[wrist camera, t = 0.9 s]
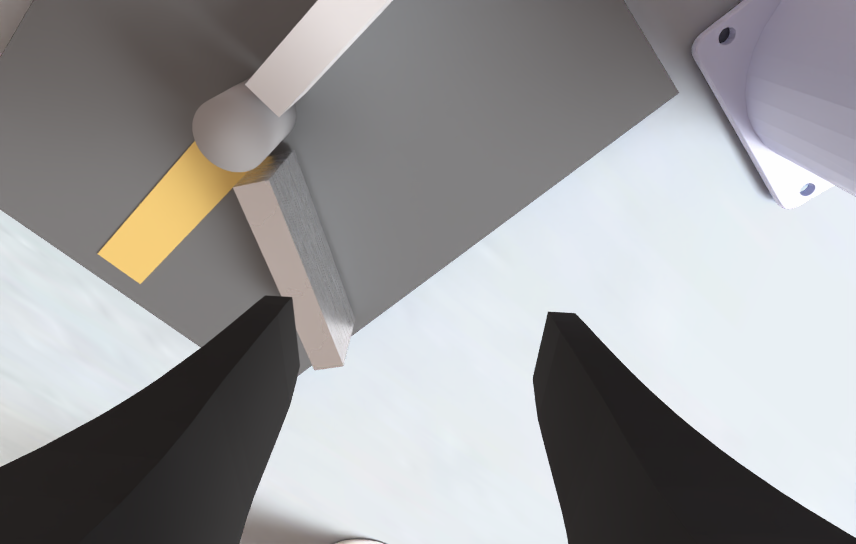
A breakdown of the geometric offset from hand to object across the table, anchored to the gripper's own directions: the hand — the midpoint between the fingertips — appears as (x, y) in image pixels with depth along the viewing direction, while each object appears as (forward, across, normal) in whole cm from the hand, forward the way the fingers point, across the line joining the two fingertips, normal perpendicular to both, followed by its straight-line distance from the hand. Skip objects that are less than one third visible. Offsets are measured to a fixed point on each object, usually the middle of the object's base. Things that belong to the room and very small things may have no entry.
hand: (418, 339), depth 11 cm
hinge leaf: (+8, +4, +2) cm, 10 cm away
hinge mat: (+9, +5, -2) cm, 11 cm away
